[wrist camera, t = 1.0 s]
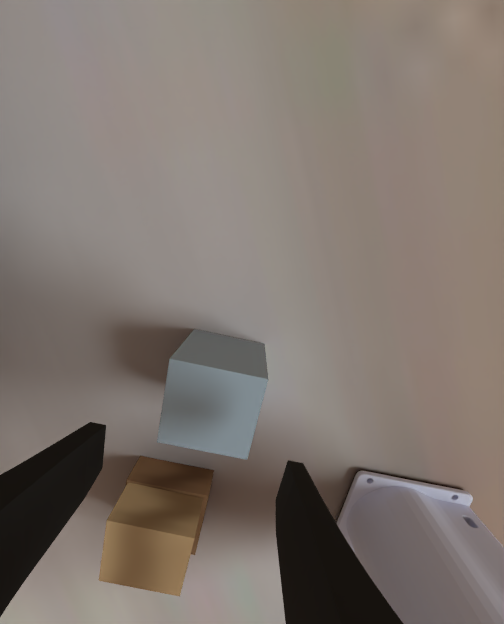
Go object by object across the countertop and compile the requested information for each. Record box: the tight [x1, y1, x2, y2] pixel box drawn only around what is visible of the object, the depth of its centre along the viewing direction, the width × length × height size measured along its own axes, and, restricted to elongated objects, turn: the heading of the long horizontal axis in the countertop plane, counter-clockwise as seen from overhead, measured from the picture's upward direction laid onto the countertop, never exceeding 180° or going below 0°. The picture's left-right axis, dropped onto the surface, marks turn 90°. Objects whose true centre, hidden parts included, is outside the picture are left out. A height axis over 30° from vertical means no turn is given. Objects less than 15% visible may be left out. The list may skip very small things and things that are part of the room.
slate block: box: [157, 329, 268, 460], centre depth 15 cm, size 5×5×5 cm
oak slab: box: [99, 482, 203, 596], centre depth 17 cm, size 6×6×2 cm
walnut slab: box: [126, 456, 214, 555], centre depth 19 cm, size 6×6×2 cm
